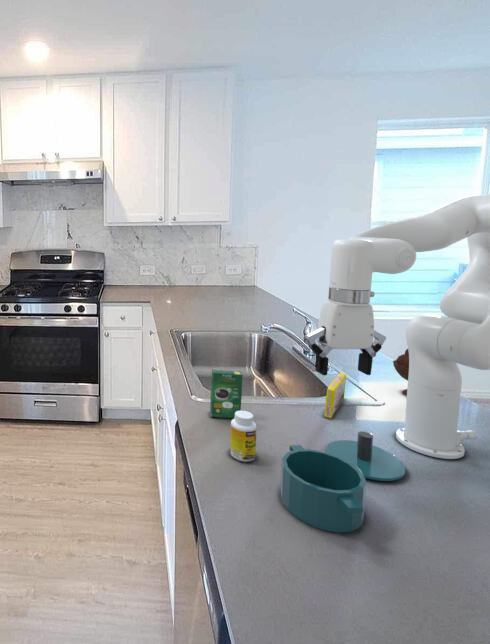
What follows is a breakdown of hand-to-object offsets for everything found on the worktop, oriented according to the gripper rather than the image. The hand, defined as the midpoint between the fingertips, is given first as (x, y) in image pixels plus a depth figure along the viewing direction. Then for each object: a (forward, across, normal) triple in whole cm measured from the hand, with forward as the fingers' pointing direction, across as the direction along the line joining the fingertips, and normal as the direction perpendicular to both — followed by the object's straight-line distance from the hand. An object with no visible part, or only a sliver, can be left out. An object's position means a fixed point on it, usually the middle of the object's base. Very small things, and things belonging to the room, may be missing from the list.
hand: (342, 372), depth 89 cm
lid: (+20, -6, +1) cm, 21 cm away
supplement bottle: (+22, +20, -4) cm, 29 cm away
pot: (+21, +12, +13) cm, 28 cm away
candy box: (+20, -17, -25) cm, 36 cm away
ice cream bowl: (+20, -46, -32) cm, 59 cm away
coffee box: (+21, +16, -23) cm, 35 cm away
